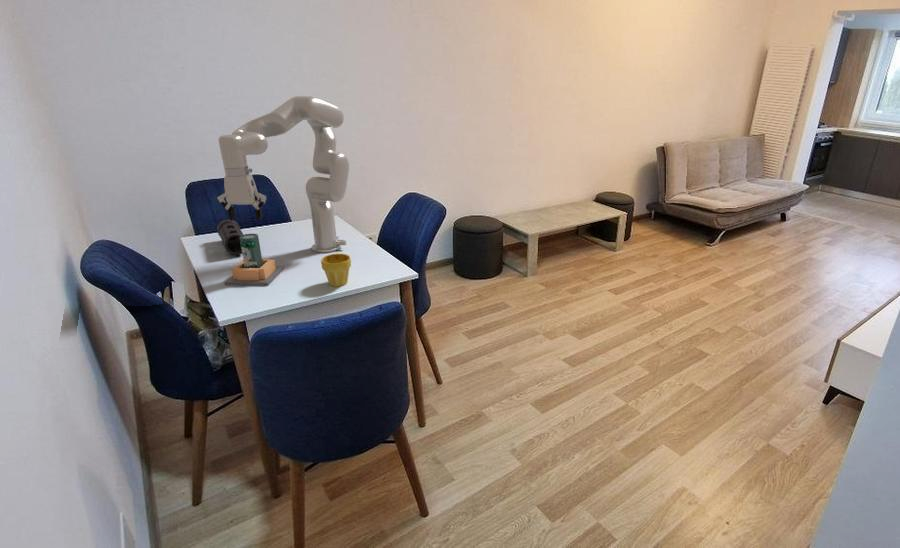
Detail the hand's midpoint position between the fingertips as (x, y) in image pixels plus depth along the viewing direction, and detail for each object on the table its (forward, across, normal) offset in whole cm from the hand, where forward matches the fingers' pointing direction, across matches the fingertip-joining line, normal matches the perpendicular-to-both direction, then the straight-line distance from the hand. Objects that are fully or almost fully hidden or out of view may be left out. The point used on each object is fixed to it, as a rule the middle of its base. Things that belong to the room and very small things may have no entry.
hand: (246, 219), depth 166 cm
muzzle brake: (+23, +24, -32) cm, 47 cm away
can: (+22, 0, 0) cm, 22 cm away
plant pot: (+23, -33, +6) cm, 40 cm away
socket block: (+22, 0, +1) cm, 23 cm away
